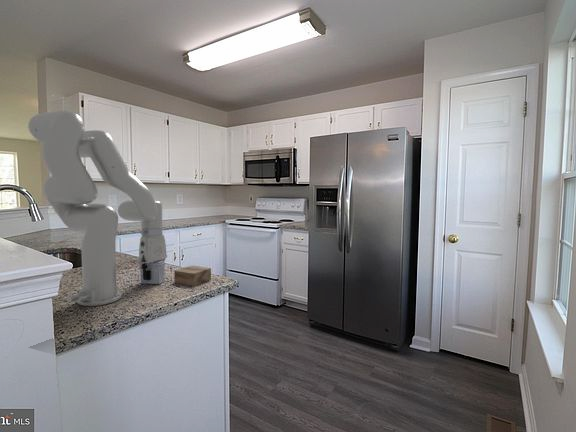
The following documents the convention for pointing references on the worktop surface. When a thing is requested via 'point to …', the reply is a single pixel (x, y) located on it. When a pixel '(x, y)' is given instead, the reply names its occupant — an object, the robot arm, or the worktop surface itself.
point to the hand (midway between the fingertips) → (152, 277)
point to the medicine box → (155, 273)
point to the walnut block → (192, 275)
